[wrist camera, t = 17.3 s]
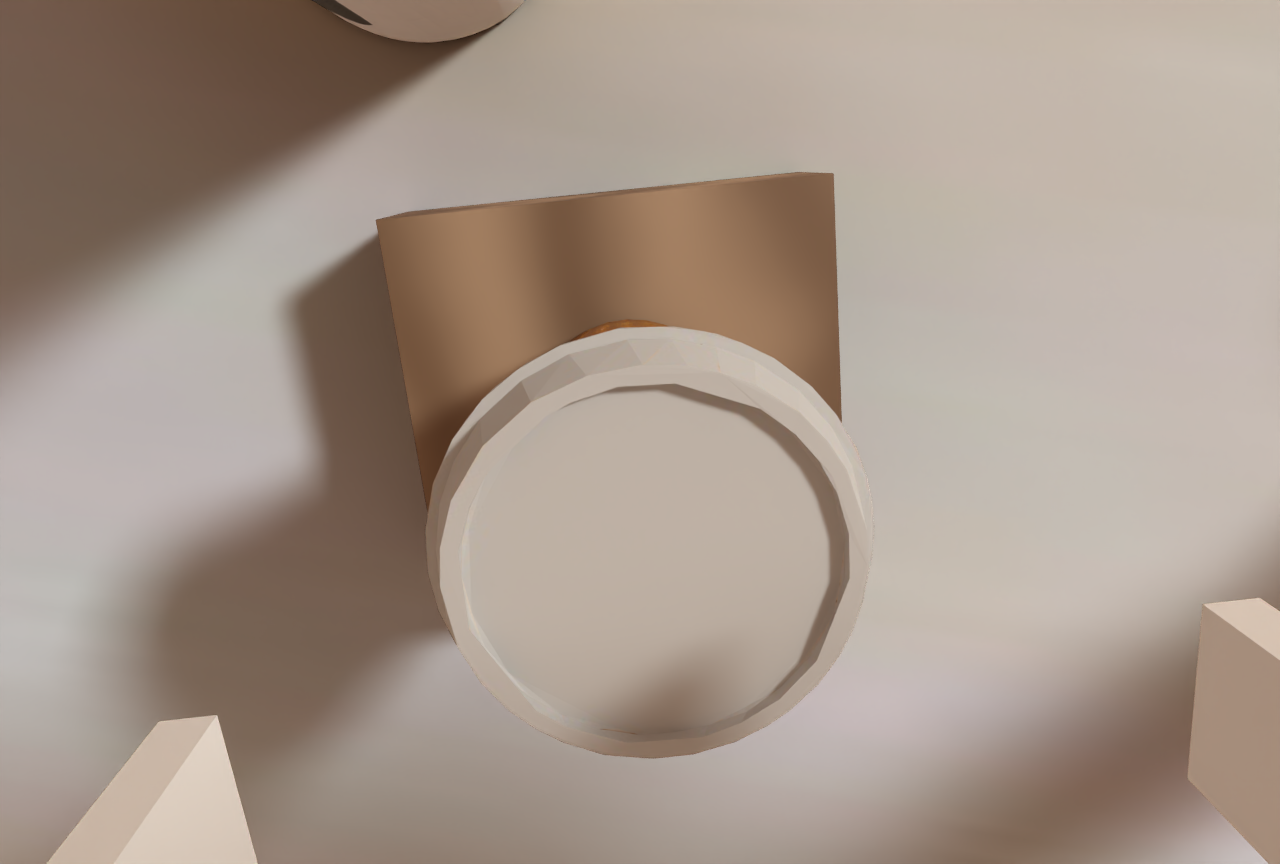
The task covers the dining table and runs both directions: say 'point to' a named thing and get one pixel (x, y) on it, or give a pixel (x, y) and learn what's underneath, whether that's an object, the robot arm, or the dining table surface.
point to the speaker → (422, 17)
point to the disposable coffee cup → (650, 540)
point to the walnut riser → (607, 283)
